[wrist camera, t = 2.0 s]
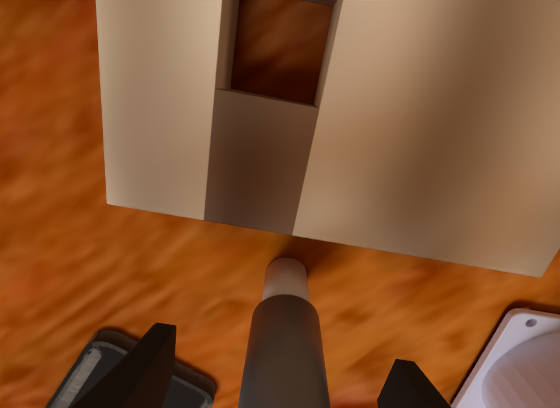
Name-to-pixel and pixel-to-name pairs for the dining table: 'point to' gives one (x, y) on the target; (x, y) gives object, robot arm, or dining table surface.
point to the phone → (107, 353)
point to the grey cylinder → (285, 345)
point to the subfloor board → (347, 127)
